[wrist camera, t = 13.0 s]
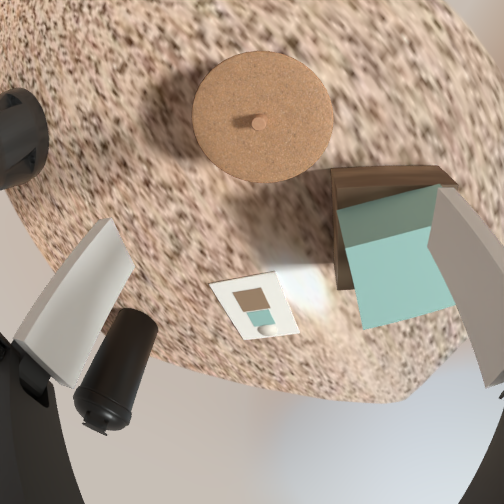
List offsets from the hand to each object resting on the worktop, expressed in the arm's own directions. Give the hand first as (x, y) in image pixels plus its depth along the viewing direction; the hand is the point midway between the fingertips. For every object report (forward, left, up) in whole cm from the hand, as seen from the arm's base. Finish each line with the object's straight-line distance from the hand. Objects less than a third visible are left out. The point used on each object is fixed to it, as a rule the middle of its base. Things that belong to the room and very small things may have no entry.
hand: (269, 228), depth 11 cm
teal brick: (+12, +11, -15) cm, 22 cm away
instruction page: (+27, -7, -20) cm, 35 cm away
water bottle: (+31, -31, -20) cm, 49 cm away
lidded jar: (-2, -1, -20) cm, 20 cm away
